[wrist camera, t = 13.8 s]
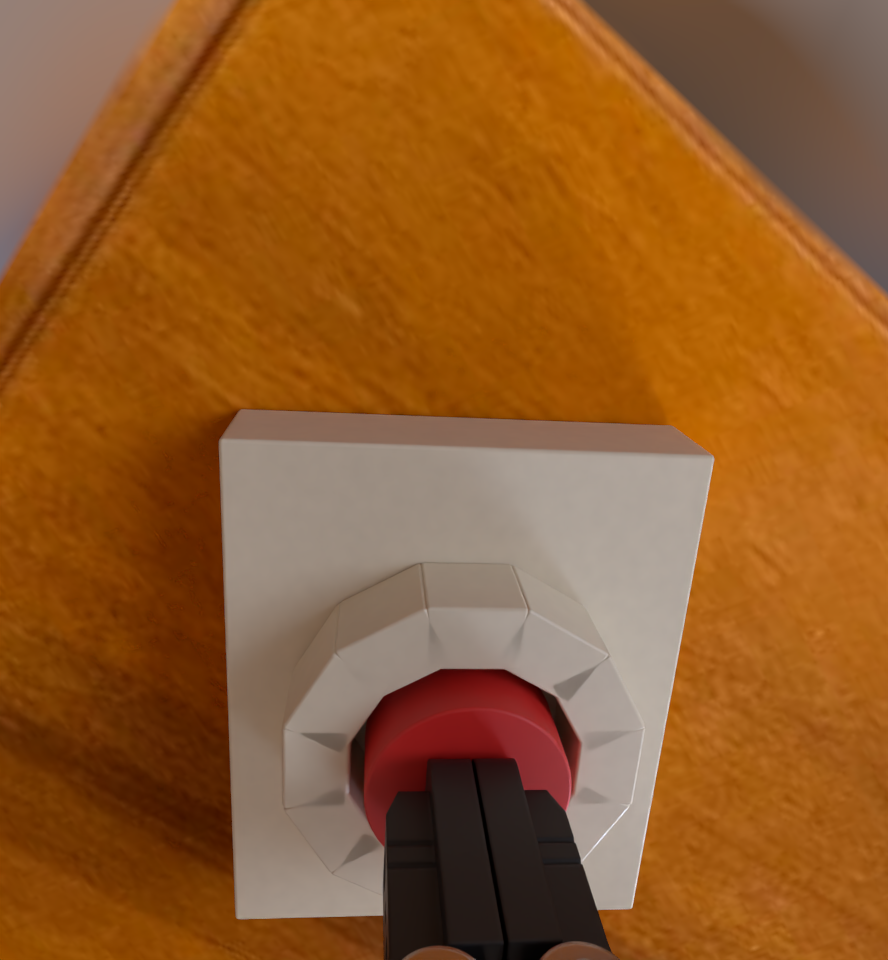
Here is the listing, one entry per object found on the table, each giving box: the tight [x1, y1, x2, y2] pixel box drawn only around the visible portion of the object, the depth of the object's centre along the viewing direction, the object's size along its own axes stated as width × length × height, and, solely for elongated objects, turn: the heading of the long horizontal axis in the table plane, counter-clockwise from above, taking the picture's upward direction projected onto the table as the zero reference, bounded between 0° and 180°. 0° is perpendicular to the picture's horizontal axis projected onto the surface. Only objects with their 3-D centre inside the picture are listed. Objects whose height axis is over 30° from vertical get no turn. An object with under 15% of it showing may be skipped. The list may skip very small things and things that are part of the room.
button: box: [364, 669, 572, 847], centre depth 14 cm, size 4×4×2 cm
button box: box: [219, 409, 714, 919], centre depth 16 cm, size 11×9×4 cm
